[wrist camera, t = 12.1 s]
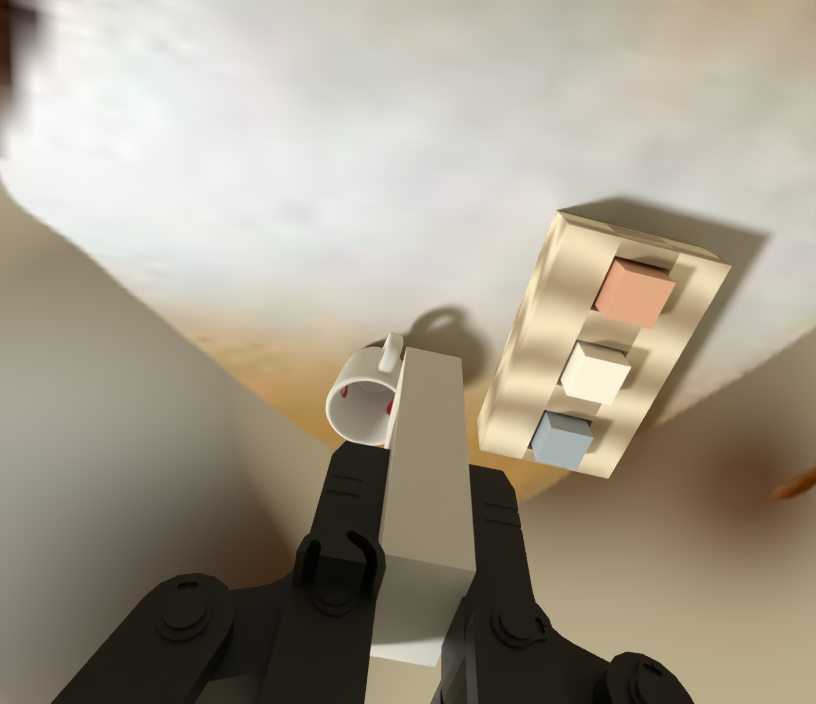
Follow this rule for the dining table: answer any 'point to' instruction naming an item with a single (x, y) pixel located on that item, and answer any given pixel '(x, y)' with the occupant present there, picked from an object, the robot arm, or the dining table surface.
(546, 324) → the console
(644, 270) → the key terracotta
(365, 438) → the cup
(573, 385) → the key cream
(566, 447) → the key slate
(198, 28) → the dining table surface
